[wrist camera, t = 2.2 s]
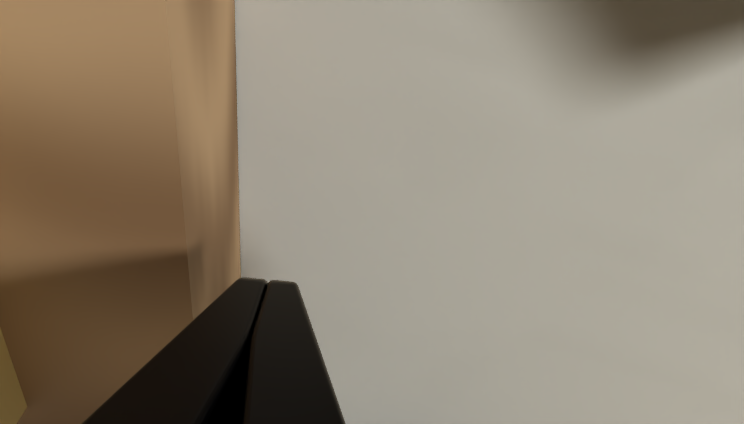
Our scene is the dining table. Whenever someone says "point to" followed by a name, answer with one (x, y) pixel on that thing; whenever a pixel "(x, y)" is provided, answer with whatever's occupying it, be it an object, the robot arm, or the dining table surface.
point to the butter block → (9, 388)
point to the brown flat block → (112, 188)
